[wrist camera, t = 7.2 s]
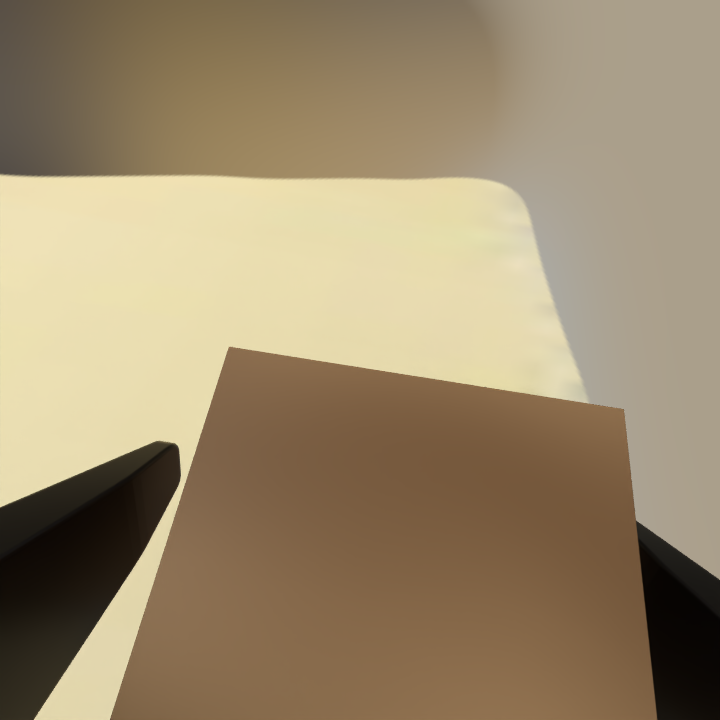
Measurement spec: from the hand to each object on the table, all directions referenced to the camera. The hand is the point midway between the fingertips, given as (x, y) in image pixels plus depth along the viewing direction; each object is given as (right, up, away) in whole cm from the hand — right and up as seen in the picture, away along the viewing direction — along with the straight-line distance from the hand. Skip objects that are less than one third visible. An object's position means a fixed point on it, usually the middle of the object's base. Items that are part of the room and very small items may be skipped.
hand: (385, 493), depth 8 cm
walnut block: (0, -4, +7) cm, 8 cm away
